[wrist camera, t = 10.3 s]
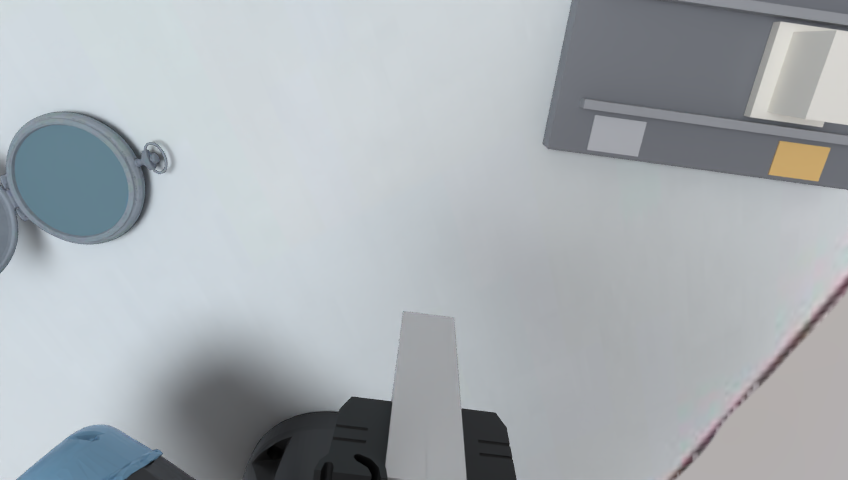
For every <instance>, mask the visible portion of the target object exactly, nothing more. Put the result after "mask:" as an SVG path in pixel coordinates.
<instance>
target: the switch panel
mask: <svg viewBox="0 0 848 480" xmlns="http://www.w3.org/2000/svg"><path fill="white" fill-rule="evenodd" d="M773 22H788V23H795V24H802V25H808V26H815V27H822V28H829V29H836V30H843V31H848V0H572V2H571V7H570V12H569V17H568V22H567V27H566V32H565V37H564V42H563V46H562V51H561V56H560V61H559V66H558V71H557V76H556V81H555V86H554V90H553V95H552V100H551V105H550V110H549V115H548V120H547V125H546V129H545V134H544V139H543V145H544V146H546V147H547V148H548V149H555V150H562V151H569V152H577V153H584V154H591V155H598V156H606V157H613V158H620V159H628V160H635V161H642V162H649V163H657V164H664V165H671V166H679V167H686V168H693V169H700V170H708V171H715V172H722V173H730V174H737V175H744V176H751V177H759V178H766V179H773V180H781V181H788V182H795V183H802V184H810V185H817V186H824V187H832V188H839V189H846V190H848V125H844V124H837V123H829V122H824V125H823V127H816V126H809V125H802V124H795V123H788V122H781V121H774V120H766V119H759V118H752V117H747V116H744V113H745V110H746V106H747V103H748V100H749V97H750V94H751V91H752V88H753V85H754V81H755V78H756V75H757V72H758V69H759V66H760V63H761V60H762V56H763V53H764V50H765V47H766V44H767V41H768V38H769V35H770V31H771V28H772V25H773Z"/></svg>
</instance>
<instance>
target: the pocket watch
mask: <svg viewBox="0 0 848 480" xmlns="http://www.w3.org/2000/svg"><path fill="white" fill-rule="evenodd" d="M148 145H154V146H156V147H157V148H158V149H159V150H160V151H161V153H162V155H163V157H164V161H165V167H164V170H163V171H161V172H159V171H157V170H155V168H156V163H158V162H159V156H158V155H157V154H156V153H151V152H150V151H149V150H147V149H146V148H147V146H148ZM141 165H144V166H146V167H147V168H148V169H149V170H153V171H154V172H156V173H158V174H162V173H164V172H165V171H166V170H167V158H166V155H165V153H164V151H163V150H162V148H161V147H160V146H159V145H157V144H156V143H153V142H149V143H146V145H145V146H144V151H142V155H141V159H137V157H136V155H135V154H134V152H133V151H132V149H131V148H130V146H129V145H128V144H127V143H126V142H125V140H124V139H123V138H122V137H121V136H120V135H118V134H117V133H116V132H115V131H114V130H112V129H111V128H109V127H108V126H106V125H105V124H103V123H101V122H100V121H98V120H95V119H93V118H91V117H88V116H86V115H82V114H78V113H73V112H53V113H48V114H44V115H42V116H39V117H36V118H34V119H32V120H31V121H29V122H28V123H26V124H25V125H24V126H23V127H21V129H20V130H19V131H18V132H17V133H16V135H15V136H14V138H13V140H12V141H11V144H10V146H9V150H8V154H7V159H6V174H5V175H1V177H0V180H1V183H2V185H3V187H2V186H1V185H0V273H1V272H2V271H3V270H4V269H5V267H6V266H7V265H8V263H9V262H10V260H11V258H12V256H13V254H14V252H15V249H16V245H17V240H18V222H17V216H16V212H17V214H18V215H19V217H20V218H21V219H22V220H23V221H26V220H31V221H32V222H33V223H34V224H35V225H37V226H38V227H39V228H41V229H42V230H44V231H45V232H47V233H49V234H51V235H53V236H55V237H58V238H60V239H62V240H65V241H68V242H72V243H78V244H100V243H104V242H107V241H111V240H113V239H115V238H118V237H119V236H121V235H123V234H124V233H125V232H127V231H128V230H129V229H130V228H131V227H132V226H133V225H134V223H135V222H136V221H137V219H138V217H139V215H140V213H141V210H142V208H143V204H144V198H145V181H144V175H143V172H142V168H141ZM4 189H5V190H4ZM15 210H16V212H15Z"/></svg>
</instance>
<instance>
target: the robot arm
mask: <svg viewBox="0 0 848 480" xmlns="http://www.w3.org/2000/svg"><path fill="white" fill-rule="evenodd" d="M509 444H510V443H509V438H508V433H507V428H506V426H505V425H504V424H503V422H502V421H501V420H500V418H499V417H498V416H497V414H496V413H493V412H485V411H477V410H469V409H461V400H460V387H459V374H458V361H457V348H456V335H455V322H454V318H453V317H445V316H437V315H429V314H421V313H413V312H406V311H403V317H402V324H401V332H400V339H399V347H398V354H397V361H396V369H395V376H394V384H393V391H392V400H391V401H384V400H375V399H367V398H359V397H351V398H350V399H349V400H348V401H347V402H346V403H345V404H344V405H343V406H342V407H341V408H340V411H339V413H334V412H316V413H308V414H303V415H299V416H296V417H293V418H290V419H288V420H286V421H284V422H282V423H280V424H278V425H277V426H275V427H274V428H272V429H271V430H270V431H269V432H268V433H267V434H265V435H264V437H263V438H262V439H261V440H260V441H259V443H258V444H257V446H256V448H255V449H254V451H253V454H252V456H251V458H250V460H249V463H248V465H247V467H246V470H245V473H244V477H243V480H516V475H515V469H514V464H513V460H512V454H511V449H510V447H509ZM162 454H163V453H162V452H161V451H160V450H158V449H156V450H152V449H150V448H148V447H147V446H145V445H143V444H141V443H140V442H138V441H136V440H135V439H133V438H131V437H130V436H128V435H126V434H125V433H123V432H121V431H120V430H118V429H116V428H114V427H112V426H108V425H92V426H88V427H85V428H82V429H81V430H79V431H76V432H75V433H73V434H72V435H70V436H69V437H67V438H66V439H65V440H64V441H62V442H61V443H60V444H58V445H57V446H56V447H55V448H53V449H52V450H51V451H50V452H49V453H47V454H46V455H45V456H44V457H42V458H41V459H40V460H39V461H38V462H36V463H35V464H34V465H33V466H32V467H30V468H29V469H28V470H27V471H26V472H25V473H23V474H22V475H21V476H20V477H19V478H17V479H16V480H196V479H194V478H193V477H191V476H190V475H188V474H187V473H185V472H184V471H182V470H181V469H180V468H178V467H177V466H175V465H174V464H172V463H171V462H169V461H168V460H166V459H165V458H163V457H162V456H161V455H162Z"/></svg>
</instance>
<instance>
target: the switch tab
mask: <svg viewBox="0 0 848 480" xmlns="http://www.w3.org/2000/svg"><path fill="white" fill-rule="evenodd" d="M744 116H747V117H752V118H759V119H766V120H774V121H781V122H788V123H795V124H802V125H809V126H816V127H823V125H824V122H829V123H837V124H844V125H848V31H843V30H836V29H829V28H822V27H815V26H808V25H802V24H795V23H788V22H773V25H772V28H771V31H770V35H769V38H768V41H767V44H766V47H765V50H764V53H763V56H762V60H761V63H760V66H759V69H758V72H757V75H756V78H755V81H754V85H753V88H752V91H751V94H750V97H749V100H748V103H747V106H746V110H745V113H744Z"/></svg>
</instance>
